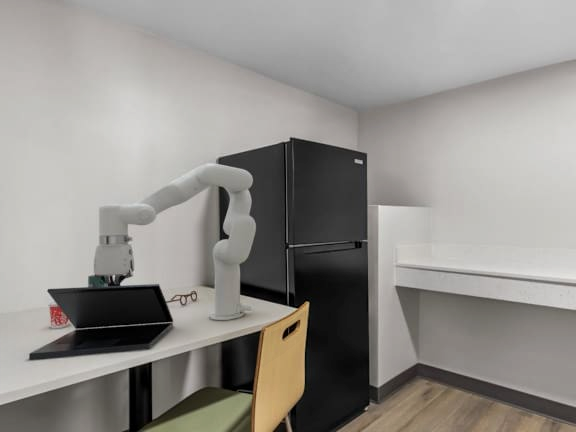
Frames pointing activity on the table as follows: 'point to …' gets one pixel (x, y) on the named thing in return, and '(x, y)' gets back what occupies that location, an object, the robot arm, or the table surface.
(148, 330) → the laptop
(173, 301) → the glasses
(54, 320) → the beverage cup
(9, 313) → the table surface
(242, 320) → the table surface
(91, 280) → the green carton
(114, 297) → the screen
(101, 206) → the robot arm
